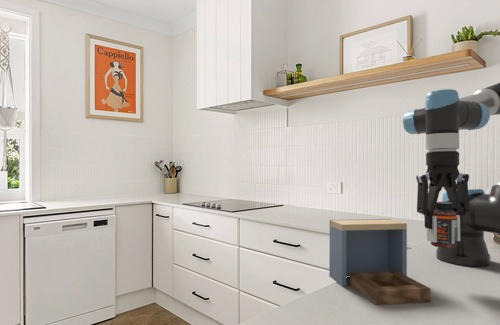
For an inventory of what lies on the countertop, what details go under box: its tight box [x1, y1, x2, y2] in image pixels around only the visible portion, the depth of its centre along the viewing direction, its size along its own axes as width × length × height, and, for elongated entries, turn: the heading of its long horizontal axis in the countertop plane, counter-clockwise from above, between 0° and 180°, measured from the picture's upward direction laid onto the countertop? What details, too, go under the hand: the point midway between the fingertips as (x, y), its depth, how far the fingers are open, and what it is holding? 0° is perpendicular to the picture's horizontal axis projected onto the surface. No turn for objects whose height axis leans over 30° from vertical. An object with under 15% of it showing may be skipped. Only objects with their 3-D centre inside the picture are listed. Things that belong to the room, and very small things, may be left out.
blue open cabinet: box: [328, 218, 408, 287], centre depth 93 cm, size 18×8×16 cm, turn 99°
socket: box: [349, 271, 431, 306], centre depth 83 cm, size 13×13×3 cm
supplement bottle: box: [430, 201, 457, 248], centre depth 89 cm, size 6×6×11 cm
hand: (443, 240), depth 89 cm, fingers closed on supplement bottle, 6 cm apart
